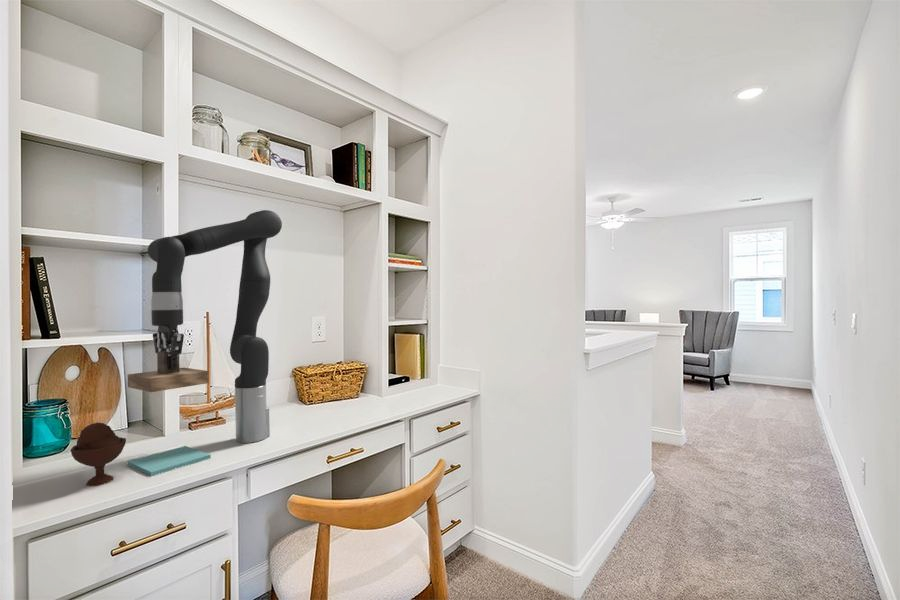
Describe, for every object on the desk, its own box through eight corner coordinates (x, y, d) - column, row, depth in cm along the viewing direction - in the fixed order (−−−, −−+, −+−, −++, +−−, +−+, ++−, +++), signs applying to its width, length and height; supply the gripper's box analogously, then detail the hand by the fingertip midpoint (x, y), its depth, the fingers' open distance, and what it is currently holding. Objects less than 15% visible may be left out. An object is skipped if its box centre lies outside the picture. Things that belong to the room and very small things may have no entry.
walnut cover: (183, 379, 134) (183, 347, 134) (208, 383, 126) (208, 349, 126) (127, 387, 122) (127, 352, 122) (151, 392, 114) (150, 355, 114)
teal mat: (185, 449, 134) (185, 445, 134) (210, 458, 126) (210, 454, 126) (127, 464, 122) (127, 461, 122) (151, 476, 113) (151, 472, 113)
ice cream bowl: (132, 479, 111) (131, 420, 111) (75, 494, 103) (73, 430, 103) (122, 469, 118) (120, 413, 118) (67, 483, 110) (66, 423, 110)
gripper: (193, 307, 123) (195, 369, 123) (170, 308, 131) (171, 366, 131) (164, 308, 117) (165, 373, 117) (141, 309, 125) (142, 369, 125)
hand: (168, 369), depth 124 cm, fingers closed on walnut cover, 4 cm apart
